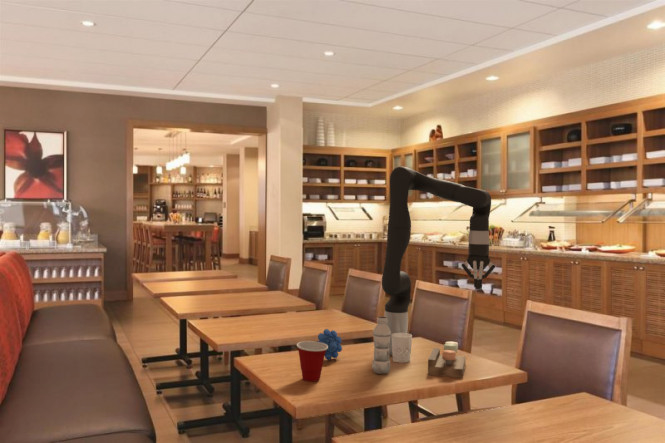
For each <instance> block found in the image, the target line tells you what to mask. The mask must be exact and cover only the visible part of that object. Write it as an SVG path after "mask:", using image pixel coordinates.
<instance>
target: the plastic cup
mask: <svg viewBox="0 0 665 443" xmlns="http://www.w3.org/2000/svg"><path fill="white" fill-rule="evenodd" d="M296 347H297V352H298V356H299V364H300V370H301V375H302V377H301V378H302V380H303V381H304V382H308V383H309V382H311V383H312V382H313V383H314V382H319V381H320V379H321V374H322V371H323V365H324V360H325V353H326V350H327V349H328V346H327V345H326V344H324V343H320V342H317V341H314V340H313V341H312V340H305V341H304V340H303V341H299V342H297V343H296Z"/></svg>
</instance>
